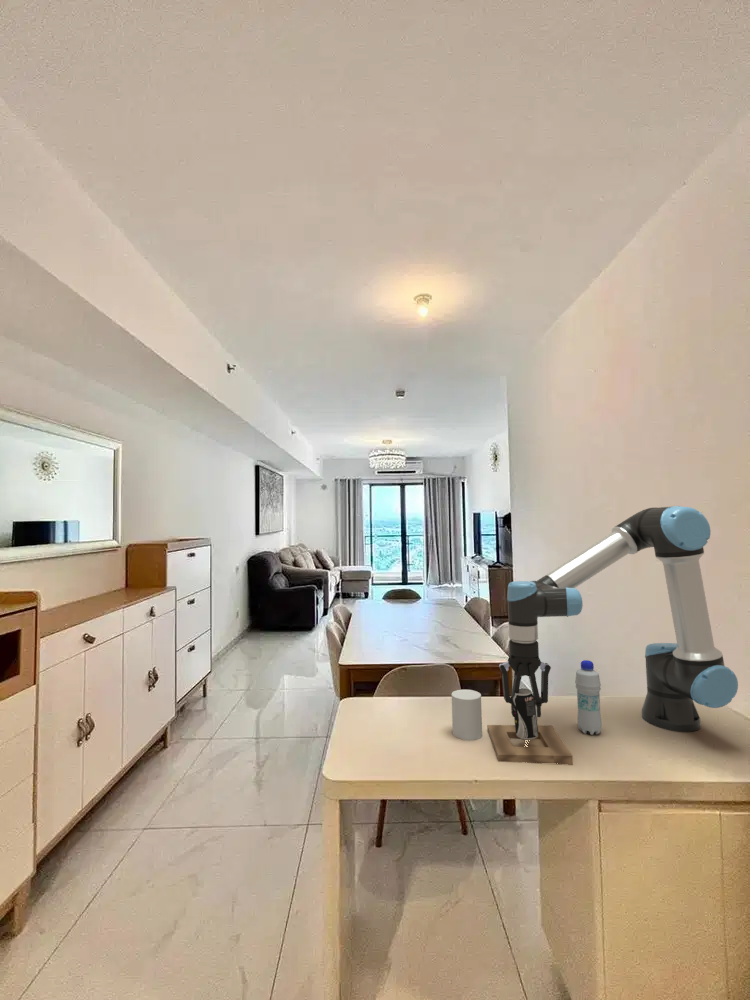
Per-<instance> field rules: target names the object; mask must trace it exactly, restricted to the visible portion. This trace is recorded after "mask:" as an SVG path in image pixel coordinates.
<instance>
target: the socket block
mask: <svg viewBox="0 0 750 1000" xmlns="http://www.w3.org/2000/svg"><path fill="white" fill-rule="evenodd" d="M537 725H538V724H537ZM486 728H487V729H486V730H487V733H488V735H489V738H490V741H491V744H492V747H493V749H494V750H493V751H494V753H495V755H496V759H497V761H498V762H503V763H504V762H505V763H506V762H507V763H522V762H525V763H526V762H527V763H528V764H530V763H531V764H542V763H556V764H555V765H562V764H568V765H569V766H573V765H574V762H573V761H574V760H573V759H574V758H573V754H572V753H571V752H570V750H569V748H568V747H567V745H566V744H565V742H564V741H563V739H562V738H561V737H560V735H559V734H558V733H557V731H556V729H555V727H553V725H542V724H541V725H538V737H536V738H535V739H533V740H530V741H529V740H528V742H529V743H528V742H527V741H526V742H527V744H528V745H527V744H526V743H525V742H523V746H513V743H512V741H511V739H520V738H519V737H518V736H517V735H516V729H515V724H513V725H512V724H487V727H486ZM524 743H525V744H526V745H527V746H528V747H526V746H525V745H524ZM524 746H525V747H524ZM557 763H558V764H557Z"/></svg>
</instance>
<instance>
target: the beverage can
mask: <svg viewBox="0 0 750 1000" xmlns="http://www.w3.org/2000/svg"><path fill="white" fill-rule="evenodd" d="M512 700H513V704H514V705H513V709H514V717H513V718H514V725H515V729H516V735H517V736H518V737H519V738H518V739H520V738H521V739H520V740H523V741H525V740H533V739H535V738H536V737H538V717H536V708H535V699H534V696H533V693H532V689H529V688H519V693H515V696H514V698H513V697H512Z"/></svg>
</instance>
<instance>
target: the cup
mask: <svg viewBox="0 0 750 1000" xmlns="http://www.w3.org/2000/svg"><path fill="white" fill-rule="evenodd" d="M482 712H483V710H482V694H481V693H480V692H478V691H476V690H473V689H458V690H454V691H452V693H451V716H452V717H451V719H452V720H451V721H452V735H453V736H454V737H455V738H456V739H457V738H458V739H461V740H463V741H477V740H480V739H482V737H483V720H482V719H483V717H482V715H483V713H482Z"/></svg>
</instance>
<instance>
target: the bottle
mask: <svg viewBox="0 0 750 1000" xmlns="http://www.w3.org/2000/svg"><path fill="white" fill-rule="evenodd" d="M600 680H601V679H600V674H599V672H598V671H597V670H595V669H594V663H593V662H592V661H591V660H588V659H587V660H586V659H583V660H581V662H580V668H579V669H578V670H576V671H575V688H576V693H577V694H576V696H577V726H578V730H579V731H580V732H582V733H583V734H585V735H586V734H587V733H589V734H590V735H591V736H593V735H594V734H595V735H599V734H600V732H601V730H602V726H603V725H602V715H601V698H600V697H601V696H600V691H602V690H601V689H602V688H601V686H602V685H601V681H600Z"/></svg>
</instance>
